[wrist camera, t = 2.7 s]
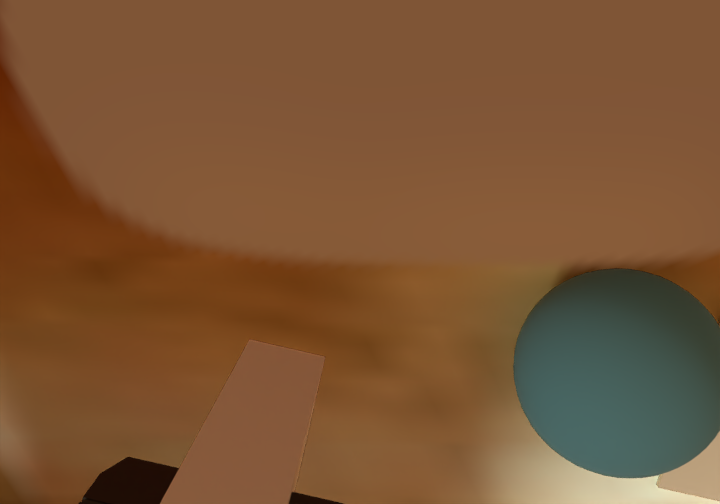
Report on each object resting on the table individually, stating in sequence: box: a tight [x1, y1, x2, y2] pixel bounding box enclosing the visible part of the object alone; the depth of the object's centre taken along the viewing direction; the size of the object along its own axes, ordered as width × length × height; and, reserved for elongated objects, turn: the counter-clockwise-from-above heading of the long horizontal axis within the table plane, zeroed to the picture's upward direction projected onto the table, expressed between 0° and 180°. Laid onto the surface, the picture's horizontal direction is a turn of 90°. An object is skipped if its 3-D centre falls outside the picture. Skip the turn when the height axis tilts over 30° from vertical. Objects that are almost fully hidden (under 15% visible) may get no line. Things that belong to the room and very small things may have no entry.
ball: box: [513, 269, 720, 478], centre depth 20 cm, size 6×6×6 cm
